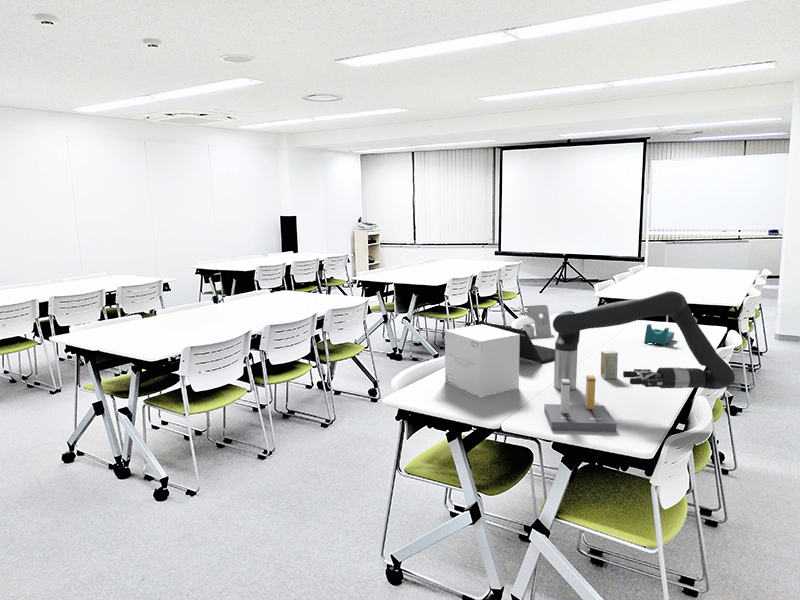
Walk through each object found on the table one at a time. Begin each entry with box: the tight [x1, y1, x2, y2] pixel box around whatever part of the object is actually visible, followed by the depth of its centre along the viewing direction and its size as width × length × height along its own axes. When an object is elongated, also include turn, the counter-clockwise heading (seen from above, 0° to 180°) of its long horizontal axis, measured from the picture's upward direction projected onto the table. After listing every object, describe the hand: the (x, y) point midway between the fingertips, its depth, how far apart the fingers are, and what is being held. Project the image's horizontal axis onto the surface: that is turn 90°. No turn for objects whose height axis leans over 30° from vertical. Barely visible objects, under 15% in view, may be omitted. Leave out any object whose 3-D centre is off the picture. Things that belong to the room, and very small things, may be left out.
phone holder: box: [521, 304, 555, 339], centre depth 337 cm, size 17×10×18 cm, turn 101°
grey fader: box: [560, 379, 571, 413], centre depth 204 cm, size 3×3×12 cm
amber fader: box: [584, 374, 597, 409], centre depth 207 cm, size 3×3×12 cm
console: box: [543, 403, 617, 433], centre depth 204 cm, size 18×22×3 cm
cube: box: [444, 324, 520, 398], centre depth 246 cm, size 25×21×24 cm
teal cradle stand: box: [643, 323, 675, 346], centre depth 317 cm, size 18×11×10 cm, turn 141°
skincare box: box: [600, 350, 619, 380], centre depth 254 cm, size 6×4×12 cm
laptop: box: [477, 320, 555, 363], centre depth 293 cm, size 33×38×19 cm
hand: (626, 377), depth 205 cm, fingers open, 8 cm apart
